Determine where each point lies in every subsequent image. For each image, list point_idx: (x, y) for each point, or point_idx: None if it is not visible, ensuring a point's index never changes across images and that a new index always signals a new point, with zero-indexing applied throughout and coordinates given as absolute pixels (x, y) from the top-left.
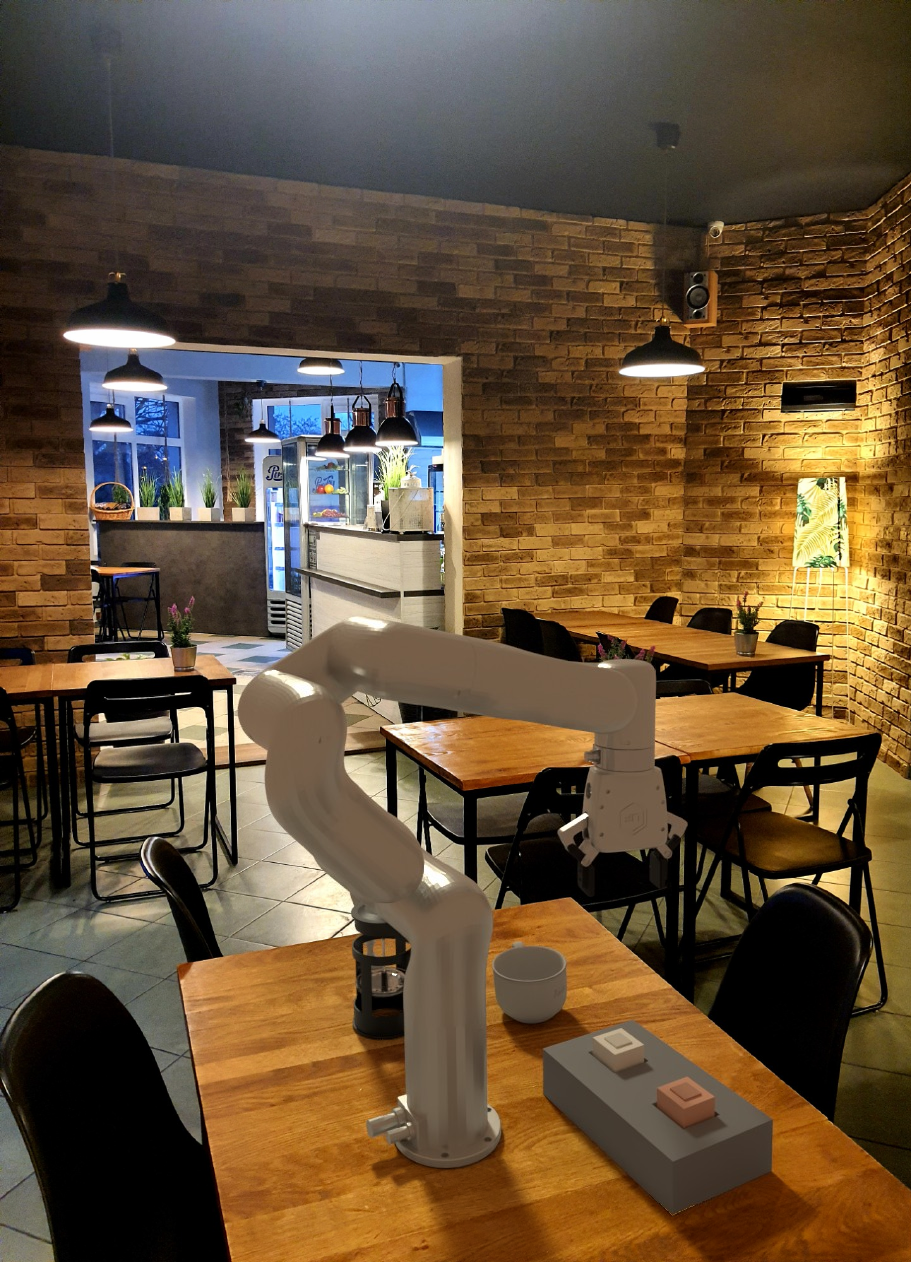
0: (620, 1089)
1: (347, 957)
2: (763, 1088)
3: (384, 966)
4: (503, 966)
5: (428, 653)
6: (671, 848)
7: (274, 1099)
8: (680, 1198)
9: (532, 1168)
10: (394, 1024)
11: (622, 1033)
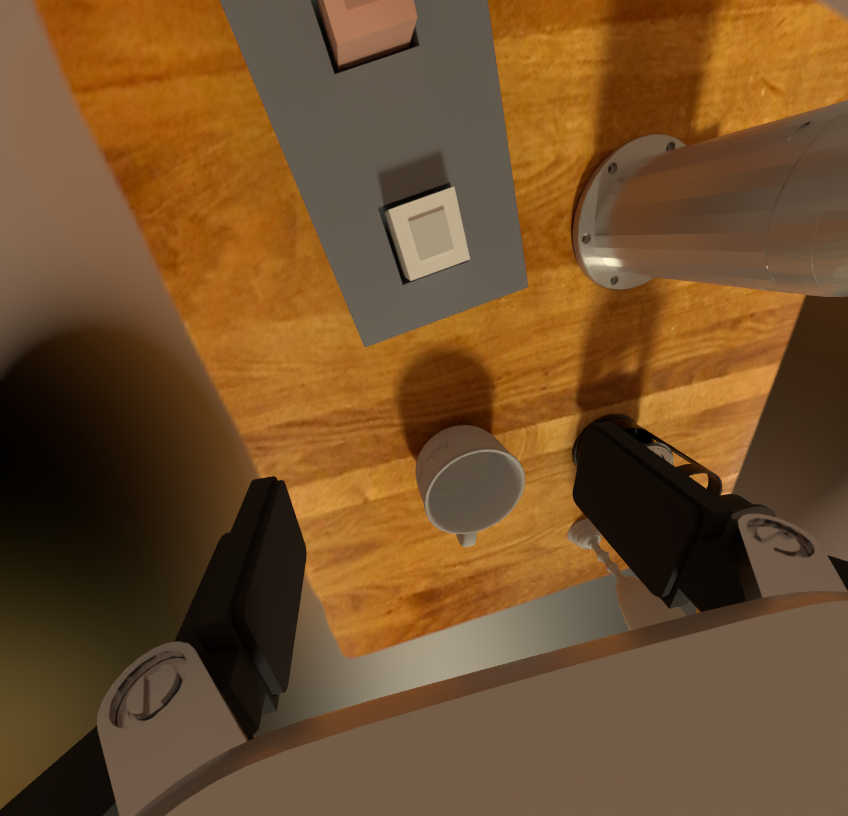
0: (458, 120)
1: (592, 553)
2: (165, 223)
3: None
4: (492, 504)
5: None
6: (88, 759)
7: (746, 324)
8: None
9: (570, 108)
10: (618, 423)
11: (414, 261)
